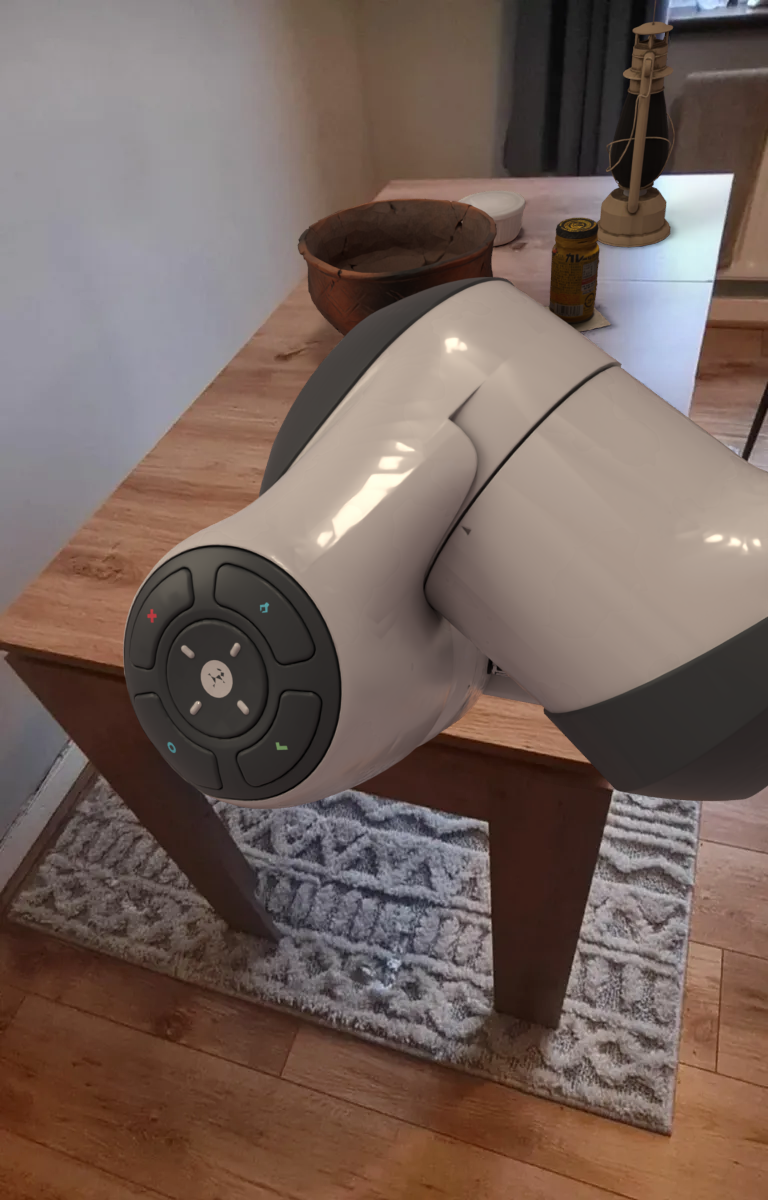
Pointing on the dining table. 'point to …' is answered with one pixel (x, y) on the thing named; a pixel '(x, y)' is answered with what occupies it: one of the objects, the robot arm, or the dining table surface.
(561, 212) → the dining table surface
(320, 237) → the bowl
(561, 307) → the condiment
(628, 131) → the lantern
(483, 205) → the ramekin
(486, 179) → the dining table surface
